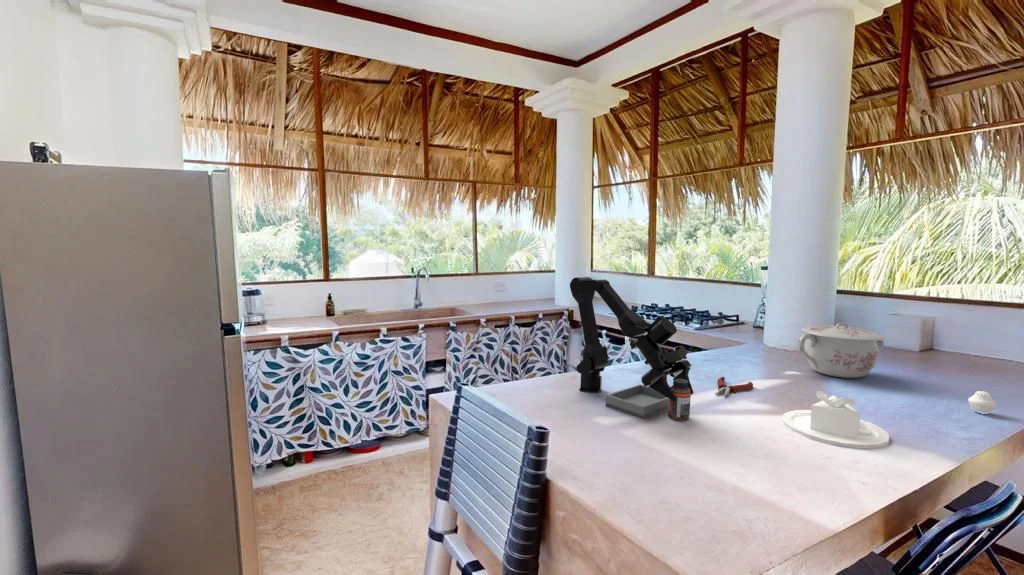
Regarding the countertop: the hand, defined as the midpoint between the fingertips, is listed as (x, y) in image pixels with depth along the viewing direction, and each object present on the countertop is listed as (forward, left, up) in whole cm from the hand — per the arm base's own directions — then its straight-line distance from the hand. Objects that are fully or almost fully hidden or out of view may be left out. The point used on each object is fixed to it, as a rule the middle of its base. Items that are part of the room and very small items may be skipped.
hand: (684, 397), depth 139 cm
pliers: (+14, +37, -7) cm, 40 cm away
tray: (-12, +7, -7) cm, 16 cm away
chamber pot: (+57, +75, -7) cm, 94 cm away
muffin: (+86, +40, -7) cm, 95 cm away
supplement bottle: (-1, +1, -7) cm, 7 cm away
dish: (+39, +8, -7) cm, 41 cm away
